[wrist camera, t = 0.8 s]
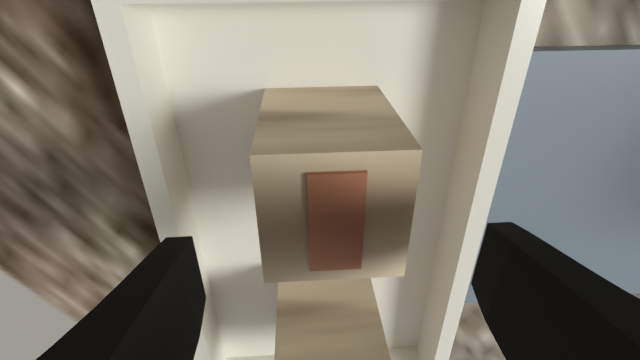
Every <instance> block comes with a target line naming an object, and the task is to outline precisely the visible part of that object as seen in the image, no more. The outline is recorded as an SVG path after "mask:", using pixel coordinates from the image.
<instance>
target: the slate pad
mask: <svg viewBox="0 0 640 360" xmlns="http://www.w3.org/2000/svg"><path fill="white" fill-rule="evenodd" d="M499 222H513V223H514V224H516V225H518V226H520V227H522V228H524V229H525V230H527V231H529V232H530V233H532V234H534V235H535V236H537V237H539V238H540V239H542V240H543V241H545V242H547V243H548V244H550V245H551V246H553V247H555V248H556V249H558V250H559V251H561V252H563V253H564V254H566V255H567V256H569V257H571V258H572V259H574V260H575V261H577V262H579V263H580V264H582V265H583V266H585V267H587V268H588V269H590V270H592V271H593V272H595V273H596V274H598V275H600V276H601V277H603V278H605V279H606V280H608V281H610V282H611V283H613V284H615V285H616V286H618V287H620V288H621V289H623V290H625V291H627V292H628V293H630V294H633V293H640V45H627V46H575V47H534V48H533V52H532V56H531V59H530V63H529V67H528V70H527V74H526V78H525V81H524V85H523V89H522V92H521V96H520V100H519V103H518V107H517V111H516V114H515V118H514V122H513V125H512V129H511V133H510V136H509V140H508V144H507V147H506V151H505V155H504V158H503V162H502V166H501V169H500V173H499V177H498V180H497V184H496V188H495V191H494V195H493V199H492V202H491V206H490V210H489V213H488V217H487V221H486V224H485V228H484V232H483V236H482V239H481V243H480V247H479V250H478V254H477V258H476V261H475V265H474V269H473V272H472V276H471V280H470V283H469V287H468V291H467V294H466V298H465V302H464V303H470V302H478V301H477V298H476V295H475V293H474V290H473V287H472V285H471V281H472V277H473V274H474V270H475V266H476V263H477V259H478V256H479V252H480V248H481V245H482V241H483V238H484V234H485V230H486V227H487V223H499Z"/></svg>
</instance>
